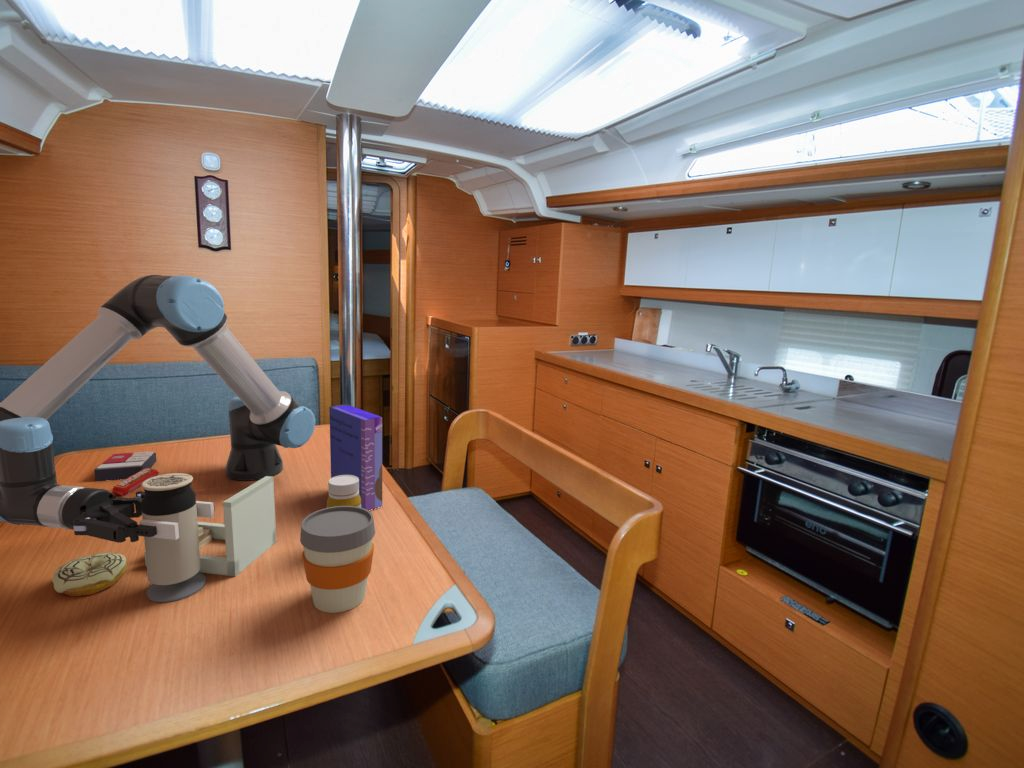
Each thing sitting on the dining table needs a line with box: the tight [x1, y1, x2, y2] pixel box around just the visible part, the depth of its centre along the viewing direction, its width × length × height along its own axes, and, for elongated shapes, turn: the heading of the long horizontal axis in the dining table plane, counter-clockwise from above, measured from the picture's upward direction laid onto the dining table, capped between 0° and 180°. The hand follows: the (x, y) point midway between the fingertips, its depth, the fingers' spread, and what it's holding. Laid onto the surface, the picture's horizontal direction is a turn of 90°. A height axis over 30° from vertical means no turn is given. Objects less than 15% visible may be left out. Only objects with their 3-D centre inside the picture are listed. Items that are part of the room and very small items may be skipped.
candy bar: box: [110, 467, 160, 496], centre depth 137 cm, size 16×4×3 cm, turn 4°
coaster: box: [146, 572, 206, 603], centre depth 93 cm, size 9×9×1 cm
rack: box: [143, 476, 277, 577], centre depth 103 cm, size 19×14×15 cm
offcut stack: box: [198, 527, 213, 550], centre depth 105 cm, size 7×10×4 cm, turn 173°
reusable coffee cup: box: [299, 506, 376, 614], centre depth 91 cm, size 12×13×15 cm
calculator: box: [93, 451, 157, 482], centre depth 146 cm, size 11×4×15 cm
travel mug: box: [141, 472, 201, 585], centre depth 90 cm, size 8×8×18 cm
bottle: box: [326, 475, 361, 508], centre depth 109 cm, size 7×7×15 cm
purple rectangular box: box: [328, 403, 383, 511], centre depth 132 cm, size 17×5×24 cm, turn 47°
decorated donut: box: [51, 552, 128, 597], centre depth 93 cm, size 10×11×4 cm
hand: (195, 520), depth 90 cm, fingers closed on travel mug, 8 cm apart
